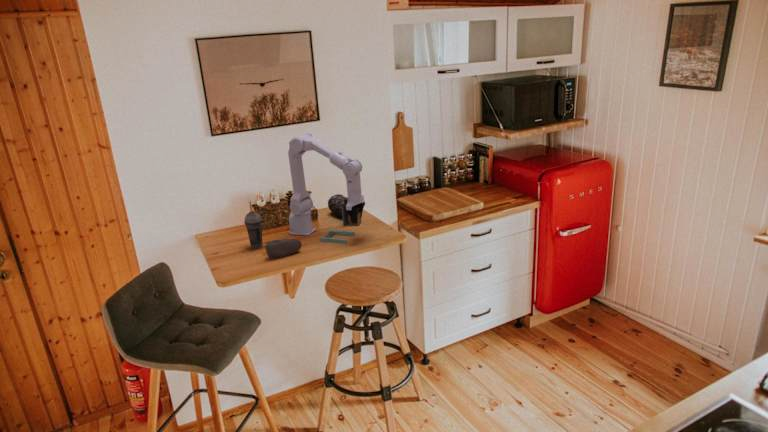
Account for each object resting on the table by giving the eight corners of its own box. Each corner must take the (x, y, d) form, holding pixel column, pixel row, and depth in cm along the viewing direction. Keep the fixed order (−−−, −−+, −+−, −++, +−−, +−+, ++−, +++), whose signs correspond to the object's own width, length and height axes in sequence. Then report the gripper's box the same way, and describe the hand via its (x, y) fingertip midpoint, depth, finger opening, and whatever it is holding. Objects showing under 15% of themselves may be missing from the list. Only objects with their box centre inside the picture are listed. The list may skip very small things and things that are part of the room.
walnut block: (349, 226, 220) (348, 214, 218) (352, 223, 224) (351, 211, 222) (358, 226, 219) (357, 214, 217) (361, 223, 223) (360, 211, 221)
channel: (320, 241, 224) (319, 238, 224) (329, 233, 233) (329, 230, 232) (346, 243, 220) (345, 240, 220) (354, 235, 229) (354, 232, 228)
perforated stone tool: (300, 249, 217) (298, 233, 215) (304, 253, 213) (302, 237, 211) (264, 257, 212) (262, 240, 209) (267, 261, 207) (265, 245, 205)
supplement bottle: (351, 226, 239) (349, 201, 235) (340, 224, 243) (337, 199, 239) (360, 222, 244) (359, 197, 240) (349, 219, 248) (347, 195, 244)
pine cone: (344, 222, 245) (342, 202, 242) (324, 214, 259) (322, 194, 255) (363, 217, 251) (361, 197, 247) (342, 209, 264) (340, 190, 261)
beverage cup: (250, 251, 217) (243, 205, 211) (246, 246, 224) (239, 201, 217) (267, 247, 221) (261, 202, 214) (263, 242, 227) (256, 198, 220)
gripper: (356, 195, 208) (359, 227, 213) (369, 185, 221) (371, 216, 226) (340, 194, 211) (343, 226, 215) (354, 184, 224) (356, 215, 228)
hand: (356, 221), depth 221 cm, fingers closed on walnut block, 4 cm apart
